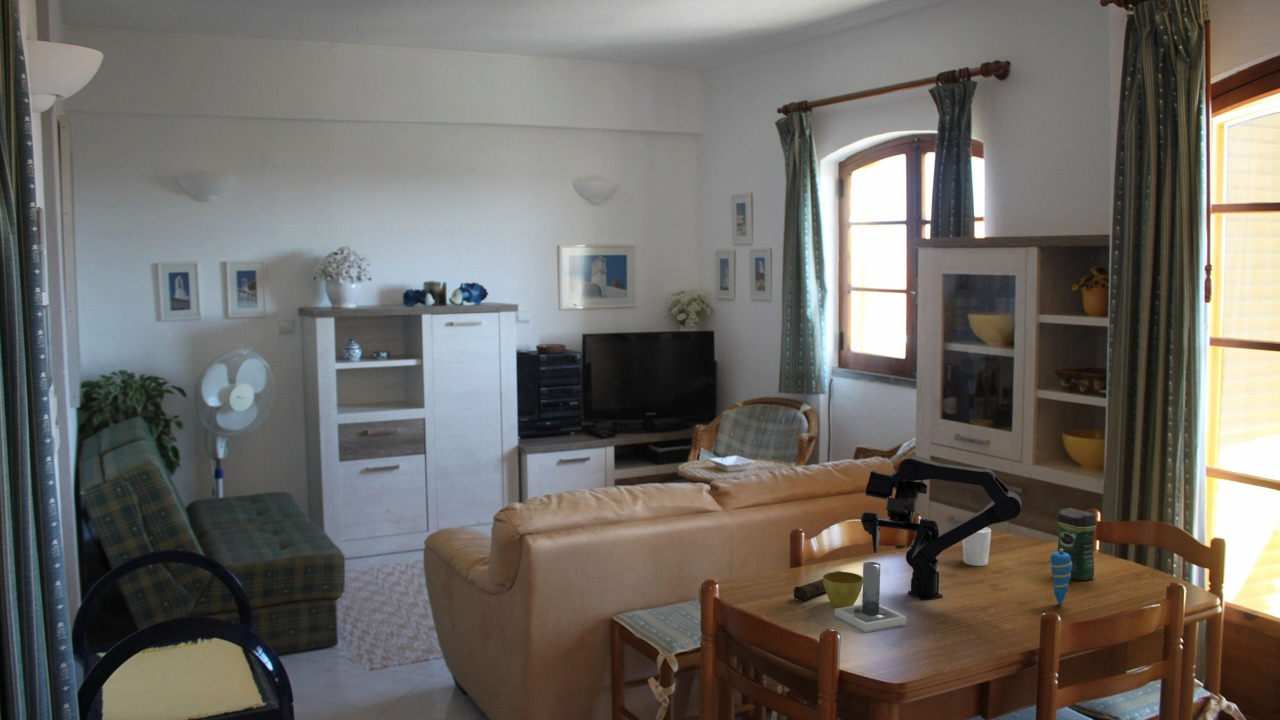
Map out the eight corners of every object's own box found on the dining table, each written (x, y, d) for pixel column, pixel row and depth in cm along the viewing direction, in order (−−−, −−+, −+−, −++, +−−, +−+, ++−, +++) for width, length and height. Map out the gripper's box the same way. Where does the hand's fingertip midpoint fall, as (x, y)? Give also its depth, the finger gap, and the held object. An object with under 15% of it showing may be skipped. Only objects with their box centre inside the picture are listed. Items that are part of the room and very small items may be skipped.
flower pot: (819, 598, 266) (819, 570, 265) (858, 598, 266) (859, 571, 265) (825, 611, 256) (825, 583, 255) (866, 611, 256) (866, 583, 255)
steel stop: (873, 611, 254) (874, 557, 253) (894, 621, 247) (895, 566, 246) (846, 616, 251) (848, 561, 250) (867, 626, 244) (868, 570, 242)
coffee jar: (1099, 578, 283) (1102, 512, 281) (1079, 582, 279) (1082, 515, 278) (1069, 569, 292) (1072, 504, 290) (1050, 573, 288) (1052, 507, 286)
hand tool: (804, 604, 262) (805, 586, 262) (792, 599, 265) (793, 582, 265) (851, 589, 274) (852, 572, 274) (839, 585, 277) (840, 568, 277)
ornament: (1060, 609, 258) (1063, 550, 256) (1043, 603, 262) (1046, 545, 261) (1074, 606, 260) (1077, 548, 259) (1058, 600, 265) (1060, 543, 263)
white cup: (959, 558, 302) (960, 524, 301) (987, 559, 301) (988, 525, 300) (963, 566, 294) (964, 531, 293) (992, 567, 293) (993, 532, 292)
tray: (874, 609, 257) (874, 602, 257) (906, 625, 246) (906, 617, 246) (834, 616, 252) (834, 608, 252) (865, 632, 241) (865, 624, 241)
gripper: (863, 480, 265) (850, 532, 256) (937, 488, 256) (926, 542, 247) (871, 504, 272) (858, 555, 264) (943, 513, 264) (932, 566, 255)
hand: (892, 554), depth 257 cm, fingers open, 9 cm apart
